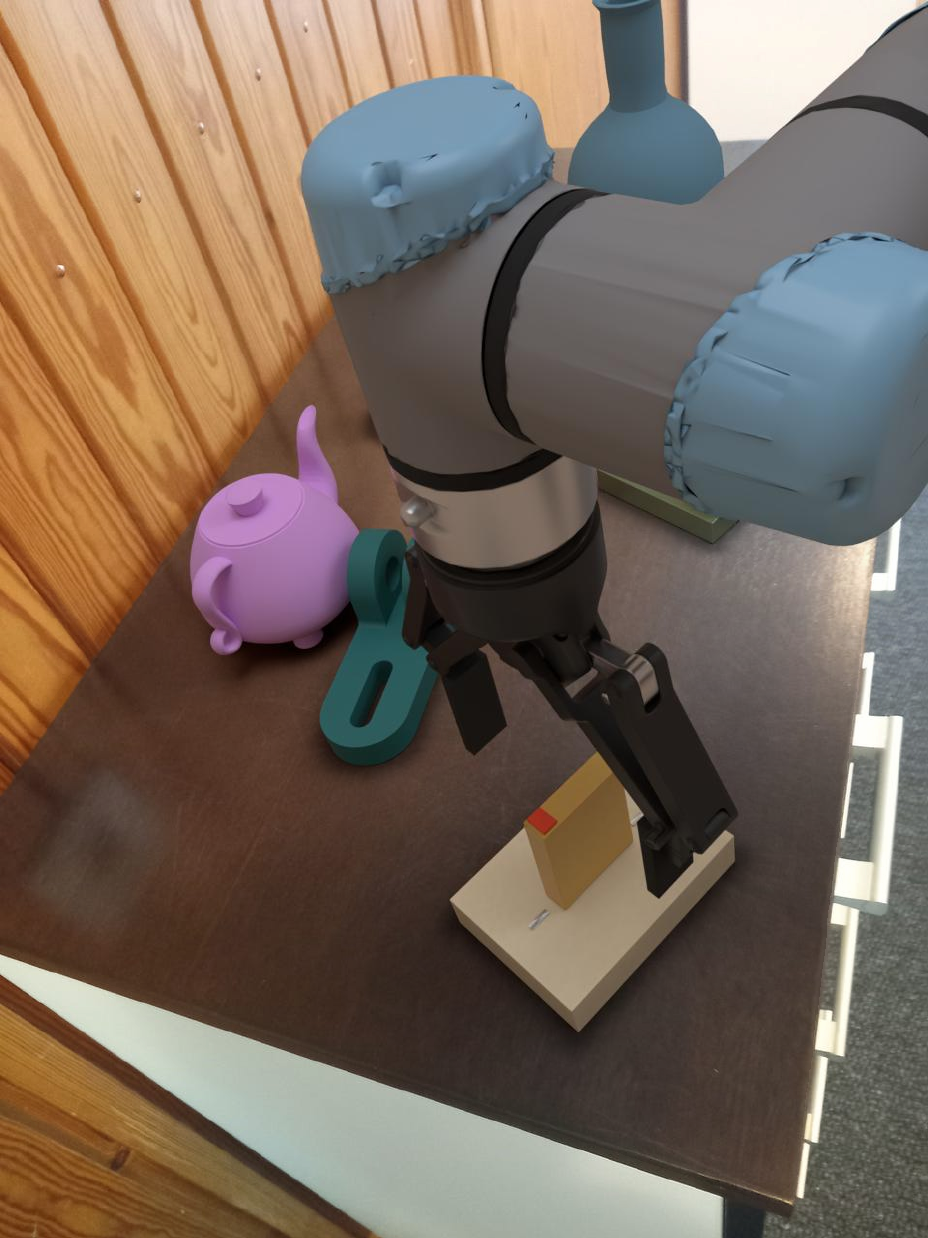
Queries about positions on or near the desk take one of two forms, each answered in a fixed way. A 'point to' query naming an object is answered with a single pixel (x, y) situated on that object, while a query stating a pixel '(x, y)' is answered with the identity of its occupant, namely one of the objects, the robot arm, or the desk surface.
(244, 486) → the teapot
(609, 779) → the tan box with red
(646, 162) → the vase
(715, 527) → the box
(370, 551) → the bracket
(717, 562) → the desk surface
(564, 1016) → the lock plate
